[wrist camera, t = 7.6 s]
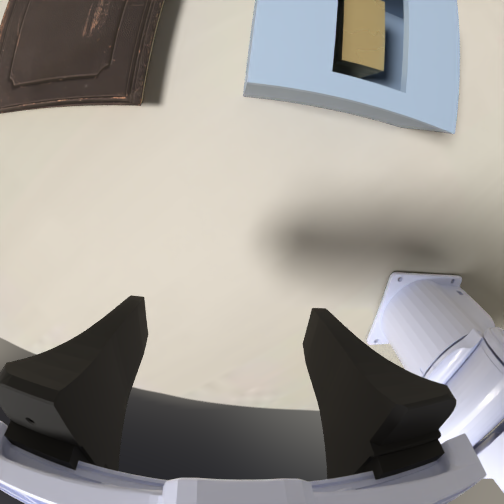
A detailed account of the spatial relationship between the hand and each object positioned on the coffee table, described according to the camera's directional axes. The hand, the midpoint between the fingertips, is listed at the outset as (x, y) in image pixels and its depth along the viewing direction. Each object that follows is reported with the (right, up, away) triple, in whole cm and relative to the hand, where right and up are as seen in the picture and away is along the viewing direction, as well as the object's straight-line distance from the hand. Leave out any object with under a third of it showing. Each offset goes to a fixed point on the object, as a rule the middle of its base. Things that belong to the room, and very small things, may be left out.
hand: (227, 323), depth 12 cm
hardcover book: (-12, +25, 0) cm, 28 cm away
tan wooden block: (+7, +17, +4) cm, 19 cm away
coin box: (+7, +17, +4) cm, 19 cm away
